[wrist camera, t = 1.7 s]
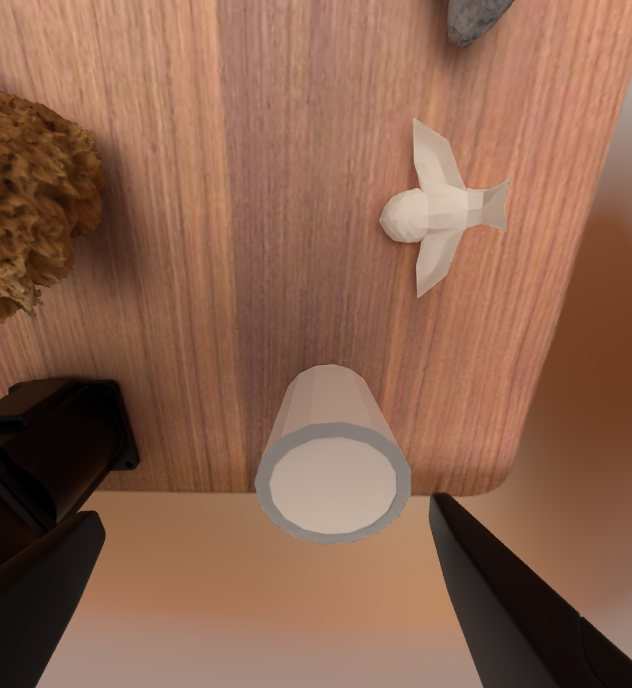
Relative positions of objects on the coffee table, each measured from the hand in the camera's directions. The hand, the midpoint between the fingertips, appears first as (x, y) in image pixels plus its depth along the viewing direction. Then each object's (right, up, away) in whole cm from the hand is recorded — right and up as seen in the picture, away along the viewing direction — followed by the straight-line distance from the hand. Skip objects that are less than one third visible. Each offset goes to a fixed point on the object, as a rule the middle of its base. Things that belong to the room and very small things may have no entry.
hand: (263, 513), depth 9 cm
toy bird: (+7, +11, +8) cm, 15 cm away
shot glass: (+2, +1, +12) cm, 12 cm away
